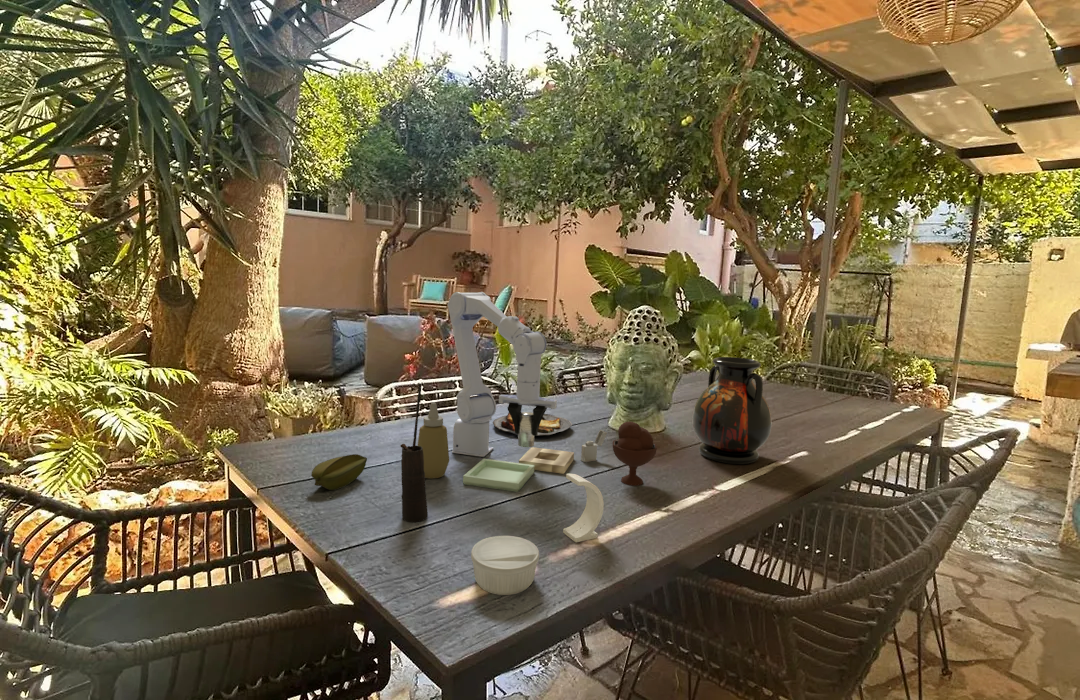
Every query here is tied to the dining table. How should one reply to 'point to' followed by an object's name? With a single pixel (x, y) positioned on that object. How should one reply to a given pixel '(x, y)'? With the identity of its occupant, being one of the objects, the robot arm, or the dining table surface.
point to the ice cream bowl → (633, 450)
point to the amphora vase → (732, 413)
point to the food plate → (546, 426)
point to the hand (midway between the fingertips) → (526, 433)
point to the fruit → (338, 471)
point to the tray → (499, 475)
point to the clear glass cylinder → (526, 429)
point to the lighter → (592, 447)
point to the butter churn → (413, 478)
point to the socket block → (548, 459)
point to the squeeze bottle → (434, 444)
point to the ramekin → (504, 564)
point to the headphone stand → (586, 512)
